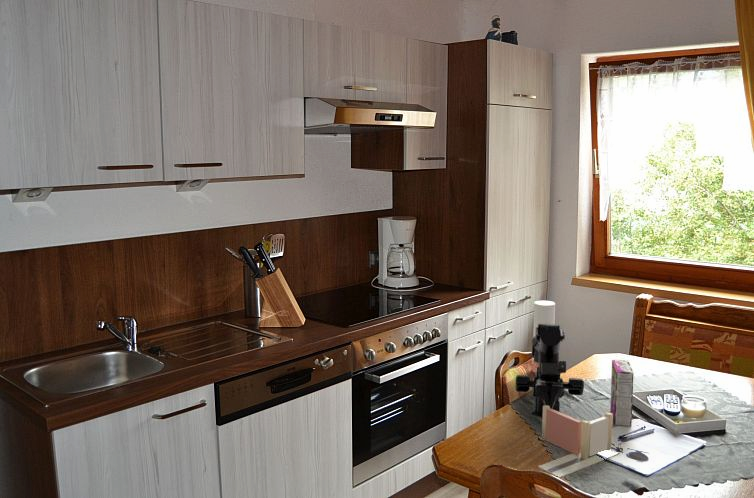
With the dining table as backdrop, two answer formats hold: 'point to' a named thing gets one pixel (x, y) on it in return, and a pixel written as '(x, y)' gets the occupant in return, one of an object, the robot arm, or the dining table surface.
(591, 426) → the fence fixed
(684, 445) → the dining table surface
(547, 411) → the panel
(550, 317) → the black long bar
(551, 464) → the card
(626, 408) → the candy bar box
